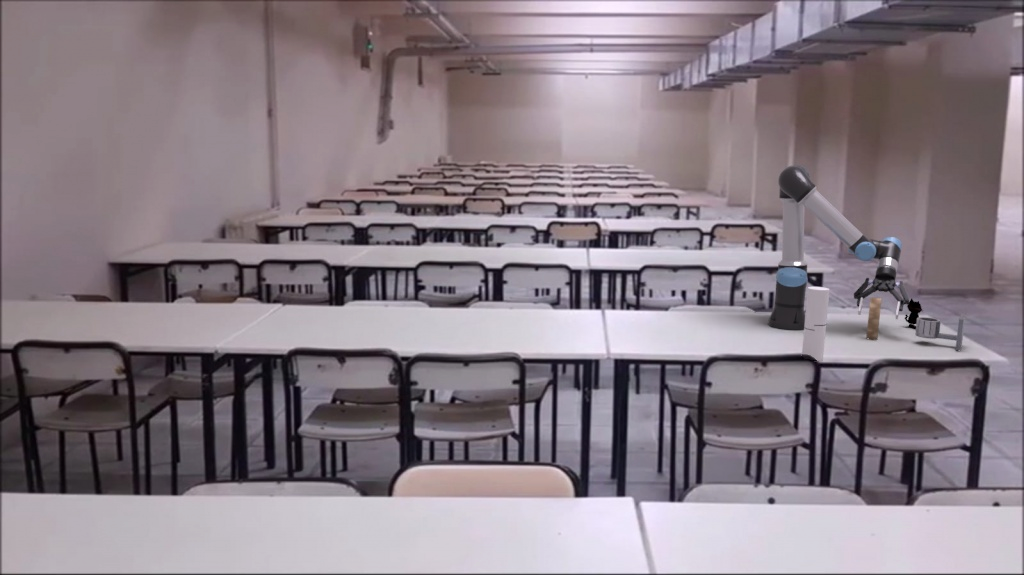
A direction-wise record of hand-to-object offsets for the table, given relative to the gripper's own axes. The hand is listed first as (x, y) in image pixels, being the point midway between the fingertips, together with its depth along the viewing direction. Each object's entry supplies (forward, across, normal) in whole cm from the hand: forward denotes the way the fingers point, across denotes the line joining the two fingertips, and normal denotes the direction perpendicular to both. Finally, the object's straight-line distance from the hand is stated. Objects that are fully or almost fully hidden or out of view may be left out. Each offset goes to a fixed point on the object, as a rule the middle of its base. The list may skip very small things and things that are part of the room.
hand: (877, 315), depth 350 cm
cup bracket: (+5, -22, -9) cm, 24 cm away
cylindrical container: (+40, +15, +27) cm, 51 cm away
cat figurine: (-16, -10, -30) cm, 35 cm away
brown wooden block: (+7, +1, -6) cm, 10 cm away
